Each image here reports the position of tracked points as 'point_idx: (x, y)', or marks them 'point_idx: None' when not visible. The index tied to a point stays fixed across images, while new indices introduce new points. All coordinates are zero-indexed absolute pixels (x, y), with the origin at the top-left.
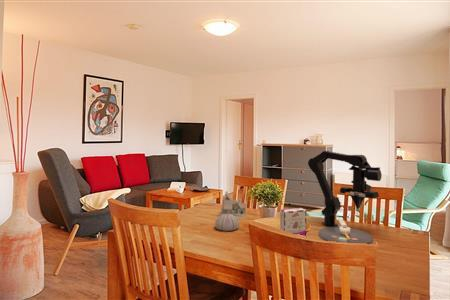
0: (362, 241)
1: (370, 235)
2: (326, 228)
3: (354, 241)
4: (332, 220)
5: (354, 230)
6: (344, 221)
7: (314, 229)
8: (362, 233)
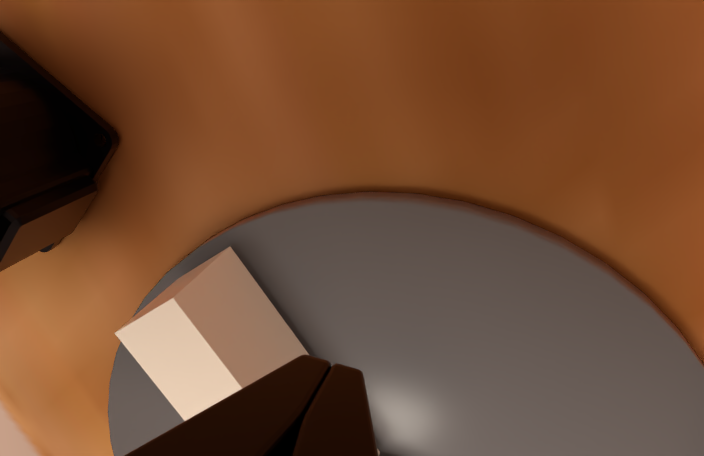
0: None
1: (698, 380)
2: (134, 409)
3: None
4: (30, 237)
5: (419, 286)
6: None
7: (53, 415)
8: (565, 356)
